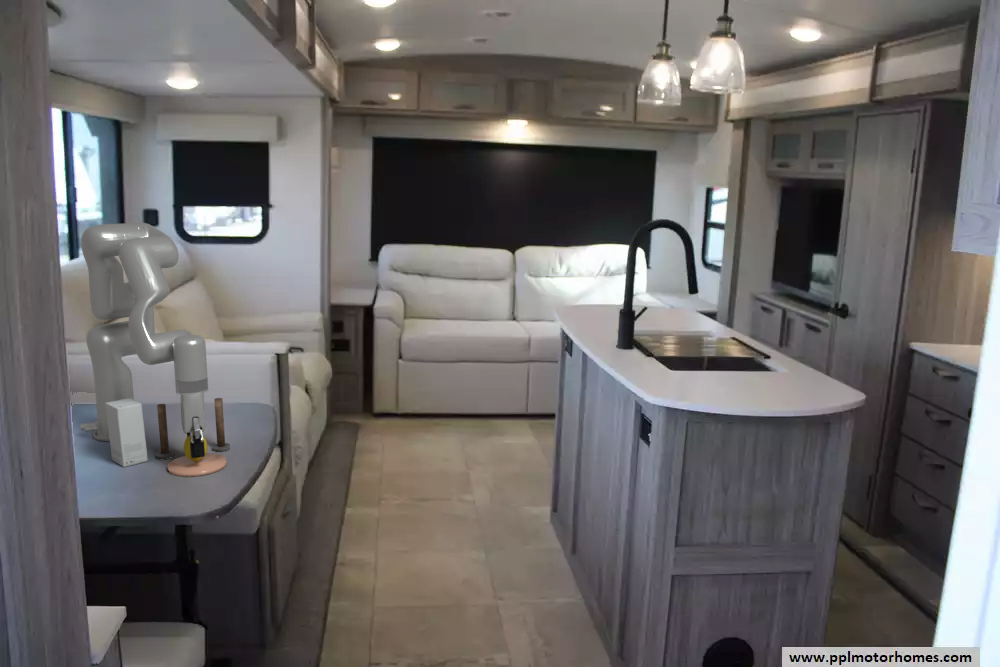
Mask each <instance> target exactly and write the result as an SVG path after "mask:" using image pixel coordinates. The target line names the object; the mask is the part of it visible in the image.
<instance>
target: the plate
mask: <svg viewBox="0 0 1000 667" xmlns="http://www.w3.org/2000/svg"><path fill="white" fill-rule="evenodd" d="M227 464H228V463H227V458H226V457H225V456H224V455H222V454H218V453H210V452H209V453H208V452H207V453H206V455H205V457H204V458H203V459H201V460H200V461H199V462H197V463H196V462H194V461H192V460H190V459H188V458H187V456H186V455H183V456H180V457H177V458H175V459H173V460H171V461H170V462H169V463H168V464H167V472H168V471H169V472H168V473H169V474H170V473H171V474H170V475H172V474H173V476H175V475H176V476H175V477H180V476H184V477H183V478H192V477H191V476H197V477H202V475H204V476H207V475H206V474H209V475H211V473H212V474H215V473H218V472H220V471H222V470H224V469H225V468H226V467H227ZM224 467H225V468H224ZM187 476H188V477H187Z"/></svg>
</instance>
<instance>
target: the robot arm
mask: <svg viewBox="0 0 1000 667" xmlns="http://www.w3.org/2000/svg"><path fill="white" fill-rule="evenodd" d="M80 246H81V251H82V255H83V258H84V261H85V262H86V266H87V271H88V286H89V300H90V301H89V302H90V309H91V313H92V314H93V316H94V317H95V318H96V319H98V320H103V321H107V320H108V321H109V320H117V319H124V318H128V320H126V321H125V320H124V321H117V322H110V323H105V324H103V323H102V324H99V325H97V326H95V327H93V328H90V330H89V331H88V333H87V335H86V337H85V338H86V346H87V349H88V354H89V356H90V357H89V358H90V361H91V365H92V371H93V380H94V381H93V382H94V392H95V393H94V394H95V402H96V413H97V418H96V421H92V422H91V423H80V424H79V425H80V431H85V432H87V433H88V432H89V433H90V432H93V433H92V435H93V437H92V438H94V439H95V440H96V439H97V441H102V442H110V438H109V430H108V422H107V414H106V406H105V403H107V402H112V401H117V400H122V399H126V398H131V399H133V400H135V397H134V396H135V394H134V385H133V384H134V383H133V376H132V375H133V374H132V371H131V369H130V368H131V367H130V366H128V365H127V363H125V361H124V360H123V359H122V358H124V357H127V356H131V355H137V357H138V358H139V360H140V361H141V362H142V363H144V364H145V365H148V366H149V365H150V366H154V365H159V364H165V363H170V362H173V366H174V369H173V370H174V381H175V382H174V384H175V393H176V394H178V395H180V415H181V427H182V431H183V434H186V438H187V437H188V436H189V435H190V436H191V442H190V450H191V458H199V457H204V456H205V449H204V441H203V436H204V435H203V432H204V431H205V428H206V417H205V412H206V411H205V395H204V393H208V391H209V381H208V380H209V378H208V366H207V365H208V364H207V345H206V340H205V338H204V337H203V336H201V335H198V334H193V333H192V332H191V331H190V330H186V329H177V330H176V329H175V330H169V331H162V332H156V330H155V311H154V310H155V308H154V306H156V305H157V304H159V303H161V302H162V301H164V300H165V299H166V298H167V297H168V296H169V295H170V292H171V290H170V287H169V284H168V282H167V279H166V276H165V274H164V272H163V270H162V269H171V268H173V267H175V266H176V265H177V264H178V262H179V255H180V254H179V250H178V247H177V245H176V243H175V242H174V240H173V239H172V238H171V237H170V236H169V235H167V234H166V233H164V232H163V231H162V230H160V229H158V228H156V227H155V226H153V225H151V224H149V223H146V222H129V223H128V222H127V223H105V224H97V225H93V226H89V227H88V228H86V229H84V232H83V233H82V235H81V241H80ZM117 257H118V258H119V260H120V261H119V260H118V259H117ZM124 274H125V276H126V279H127V281H128V282H125V278H124ZM155 332H156V333H155ZM193 434H194V435H193Z"/></svg>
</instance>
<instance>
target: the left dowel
mask: <svg viewBox="0 0 1000 667" xmlns="http://www.w3.org/2000/svg"><path fill="white" fill-rule="evenodd" d="M156 408H157V419H158V420H157V421H158V422H157V423H158V432H159V445H160V451H157V452H155V457H156V459H157V458H158V459H157V460H161V459H163V460H168V459H167V458H170V457H172V458H174V457H175V451H174V450H171V449H170V447H169V446H170V445H169V434H168V432H169V431H168V419H167V408H166V404H165V403H159V404H157V405H156ZM173 456H174V457H173ZM170 459H171V458H170Z"/></svg>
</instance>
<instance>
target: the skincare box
mask: <svg viewBox="0 0 1000 667" xmlns="http://www.w3.org/2000/svg"><path fill="white" fill-rule="evenodd" d="M105 406H106V414H107V422H108V430H109V438H110V441H109V444H110V445H109V446H110V451H111V460H112V461H114V462H115V463H116V464H118V465H119V466H121V467H123V468H125V467H126V468H127V467H130V466H135V465H139V464H141V463H142V464H143V463H146V462H148V460H149V459H148V451H147V441H146V434H145V433H146V432H145V424H144V415H143V406H142V403H141V402H139V401H136V400H135V399H134V400H133V399H131V398H126V399H122V400H117V401H112V402H107V403H105Z"/></svg>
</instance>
